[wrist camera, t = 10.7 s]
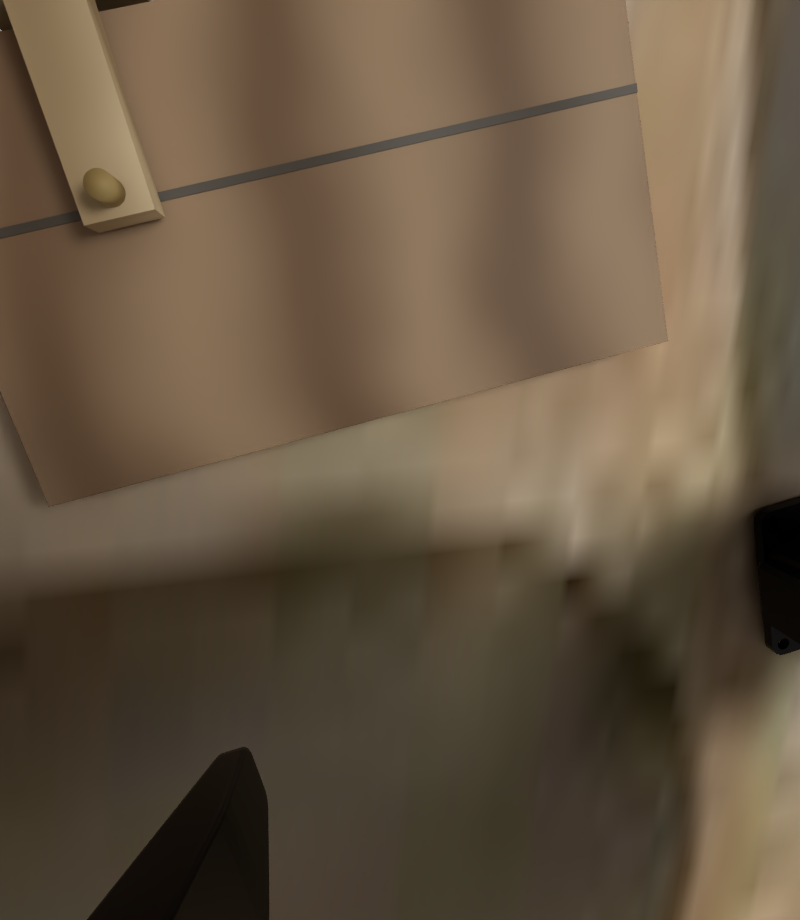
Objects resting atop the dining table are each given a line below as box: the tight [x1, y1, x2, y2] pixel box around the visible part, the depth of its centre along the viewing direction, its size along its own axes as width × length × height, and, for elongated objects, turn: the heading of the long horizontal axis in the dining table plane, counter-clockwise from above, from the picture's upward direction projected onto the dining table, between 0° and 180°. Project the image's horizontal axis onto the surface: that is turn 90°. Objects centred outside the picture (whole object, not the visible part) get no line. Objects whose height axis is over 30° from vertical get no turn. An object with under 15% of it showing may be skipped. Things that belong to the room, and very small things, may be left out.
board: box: [0, 0, 668, 507], centre depth 17 cm, size 20×12×2 cm, turn 104°
